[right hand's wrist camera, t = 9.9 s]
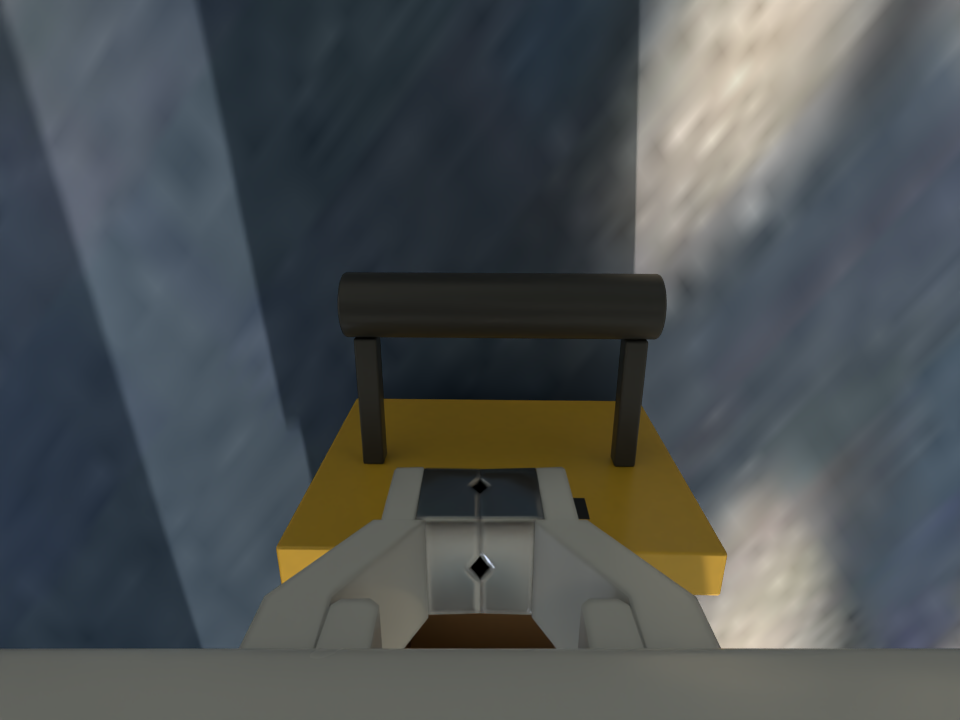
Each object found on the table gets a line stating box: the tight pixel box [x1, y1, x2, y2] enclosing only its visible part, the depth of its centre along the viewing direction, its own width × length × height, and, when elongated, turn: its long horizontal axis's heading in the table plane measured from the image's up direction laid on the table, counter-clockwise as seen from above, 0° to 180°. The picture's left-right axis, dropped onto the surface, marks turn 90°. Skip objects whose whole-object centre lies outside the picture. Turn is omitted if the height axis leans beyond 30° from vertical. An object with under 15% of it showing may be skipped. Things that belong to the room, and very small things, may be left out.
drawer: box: [276, 272, 727, 649], centre depth 19 cm, size 24×10×8 cm, turn 0°
